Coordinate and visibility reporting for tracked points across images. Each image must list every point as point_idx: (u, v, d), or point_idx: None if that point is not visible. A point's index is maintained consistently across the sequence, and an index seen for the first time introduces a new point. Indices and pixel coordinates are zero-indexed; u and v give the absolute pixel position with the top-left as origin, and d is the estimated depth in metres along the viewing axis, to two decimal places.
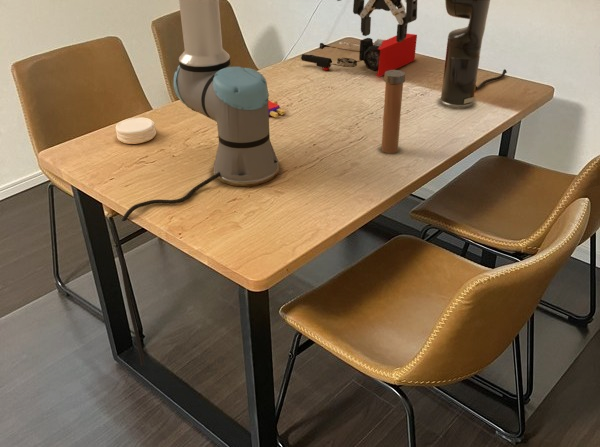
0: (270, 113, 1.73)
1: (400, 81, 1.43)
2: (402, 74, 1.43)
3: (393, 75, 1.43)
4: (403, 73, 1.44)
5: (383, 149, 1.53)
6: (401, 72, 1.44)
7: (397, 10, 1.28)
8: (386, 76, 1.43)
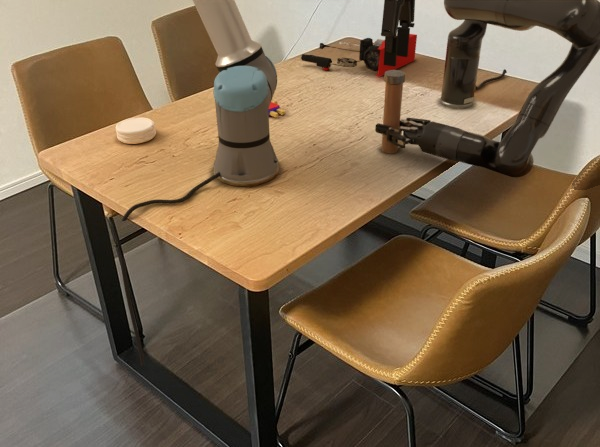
0: (270, 113, 1.73)
1: (400, 81, 1.43)
2: (402, 74, 1.43)
3: (393, 75, 1.43)
4: (403, 73, 1.44)
5: (383, 149, 1.53)
6: (401, 72, 1.44)
7: None
8: (386, 76, 1.43)
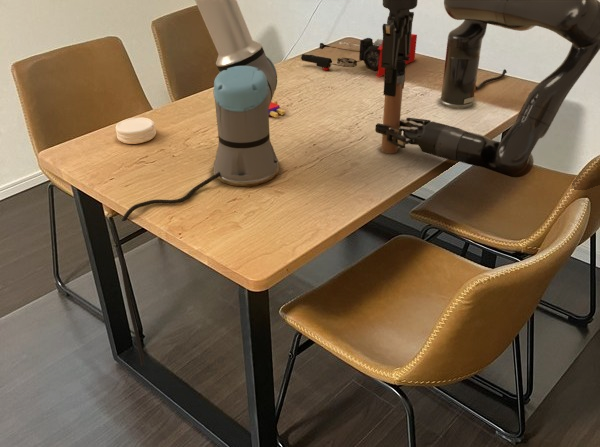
0: (270, 113, 1.73)
1: (400, 81, 1.43)
2: (402, 74, 1.43)
3: None
4: (403, 73, 1.44)
5: (383, 149, 1.53)
6: (401, 72, 1.44)
7: None
8: None
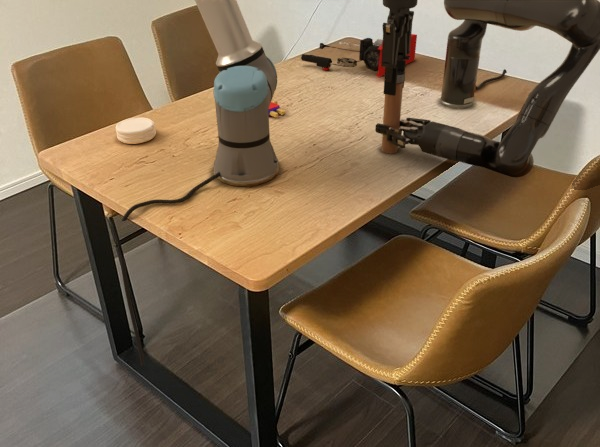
0: (270, 113, 1.73)
1: None
2: (398, 70, 1.45)
3: (401, 72, 1.43)
4: None
5: (383, 149, 1.53)
6: None
7: None
8: (400, 76, 1.42)
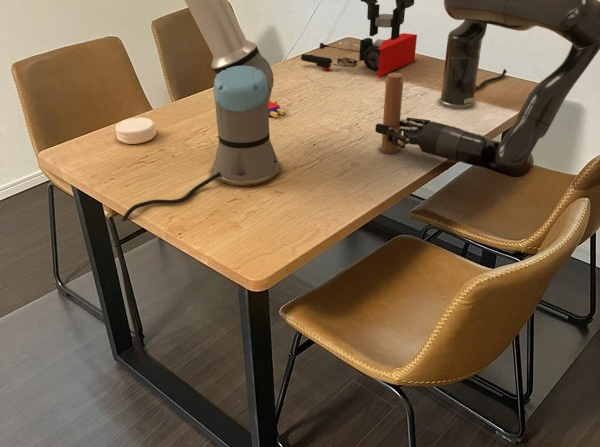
0: (270, 113, 1.73)
1: None
2: (378, 15, 1.40)
3: (388, 15, 1.40)
4: (377, 15, 1.40)
5: (383, 149, 1.53)
6: (378, 16, 1.39)
7: None
8: None
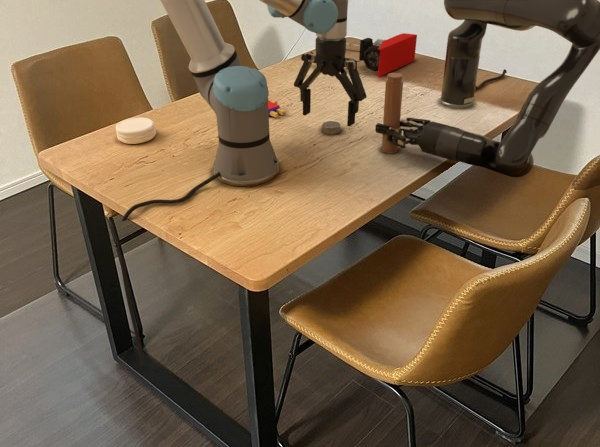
0: (270, 113, 1.73)
1: None
2: (325, 122, 1.65)
3: (333, 122, 1.65)
4: (324, 123, 1.64)
5: (383, 149, 1.53)
6: (325, 124, 1.64)
7: None
8: None
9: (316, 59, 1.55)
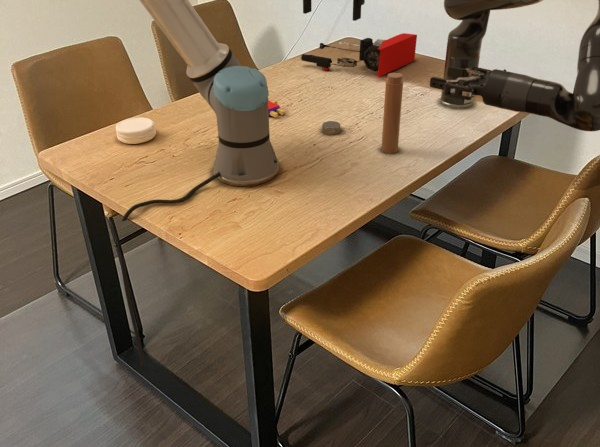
0: (270, 113, 1.73)
1: None
2: (325, 122, 1.65)
3: (333, 122, 1.65)
4: (324, 123, 1.64)
5: (383, 149, 1.53)
6: (325, 124, 1.64)
7: None
8: None
9: None
